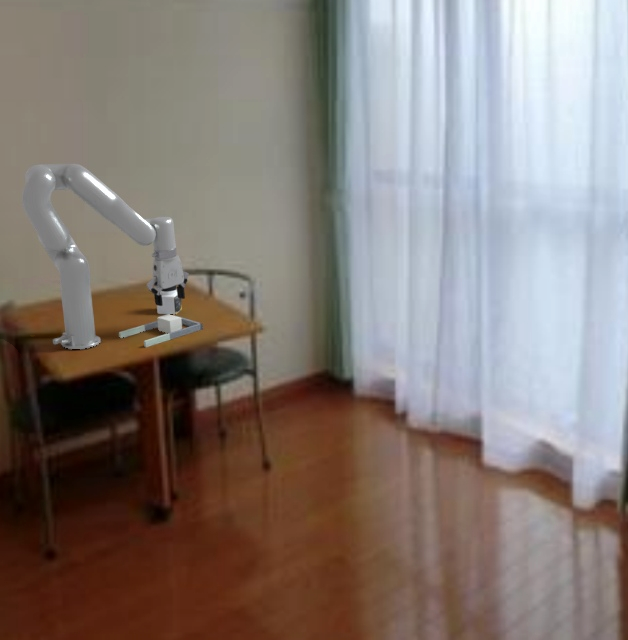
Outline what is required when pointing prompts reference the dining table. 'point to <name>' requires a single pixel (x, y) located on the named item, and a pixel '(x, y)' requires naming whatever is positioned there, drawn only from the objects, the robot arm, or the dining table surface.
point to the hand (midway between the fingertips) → (170, 301)
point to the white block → (169, 323)
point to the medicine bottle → (169, 301)
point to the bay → (193, 328)
